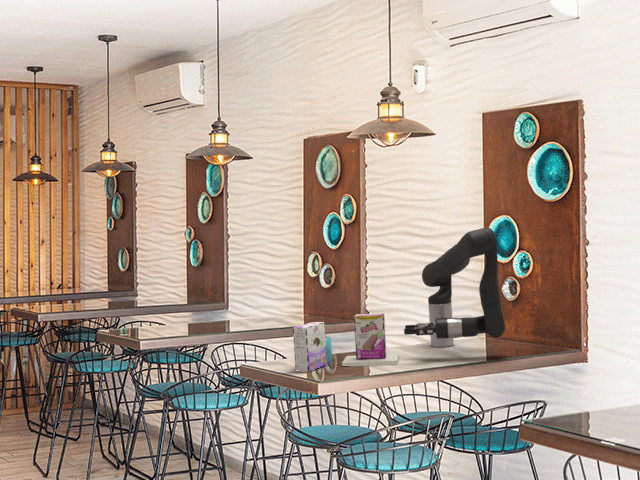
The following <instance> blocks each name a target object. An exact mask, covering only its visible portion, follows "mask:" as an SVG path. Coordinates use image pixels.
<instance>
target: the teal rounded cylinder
mask: <svg viewBox="0 0 640 480" xmlns="http://www.w3.org/2000/svg"><path fill="white" fill-rule="evenodd" d="M332 348H333V347H332V337H331V336H326V351H327V363H331V362H333V351H332Z"/></svg>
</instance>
